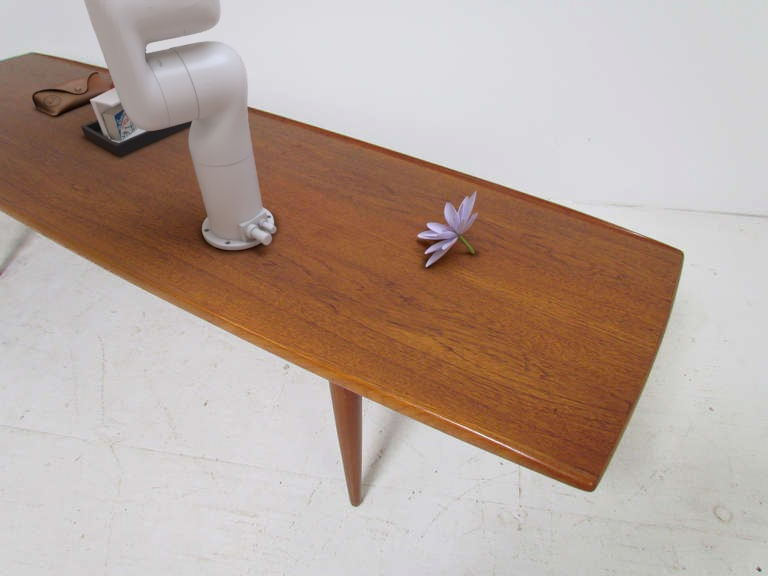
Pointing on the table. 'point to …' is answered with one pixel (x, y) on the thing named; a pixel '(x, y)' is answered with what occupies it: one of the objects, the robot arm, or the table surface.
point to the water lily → (450, 228)
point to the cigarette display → (113, 117)
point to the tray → (131, 144)
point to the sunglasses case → (70, 94)
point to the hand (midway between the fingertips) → (130, 66)
